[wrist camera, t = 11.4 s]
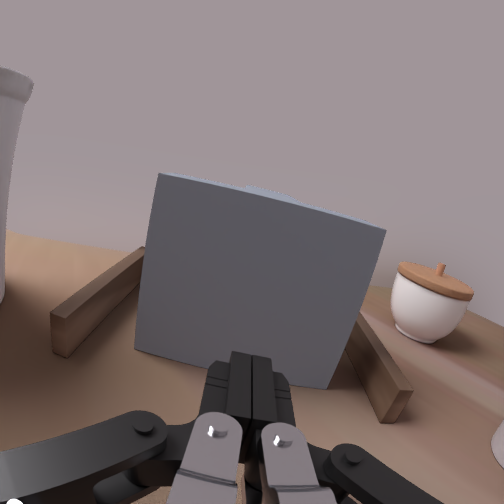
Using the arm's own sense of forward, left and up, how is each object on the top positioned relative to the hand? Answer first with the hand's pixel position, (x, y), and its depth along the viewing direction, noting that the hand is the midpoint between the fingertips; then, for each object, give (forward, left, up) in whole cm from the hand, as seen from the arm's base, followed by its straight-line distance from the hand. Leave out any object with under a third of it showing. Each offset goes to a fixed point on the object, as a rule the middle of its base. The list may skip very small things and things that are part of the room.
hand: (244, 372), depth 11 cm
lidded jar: (+23, +22, -6) cm, 32 cm away
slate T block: (0, +14, -6) cm, 15 cm away
